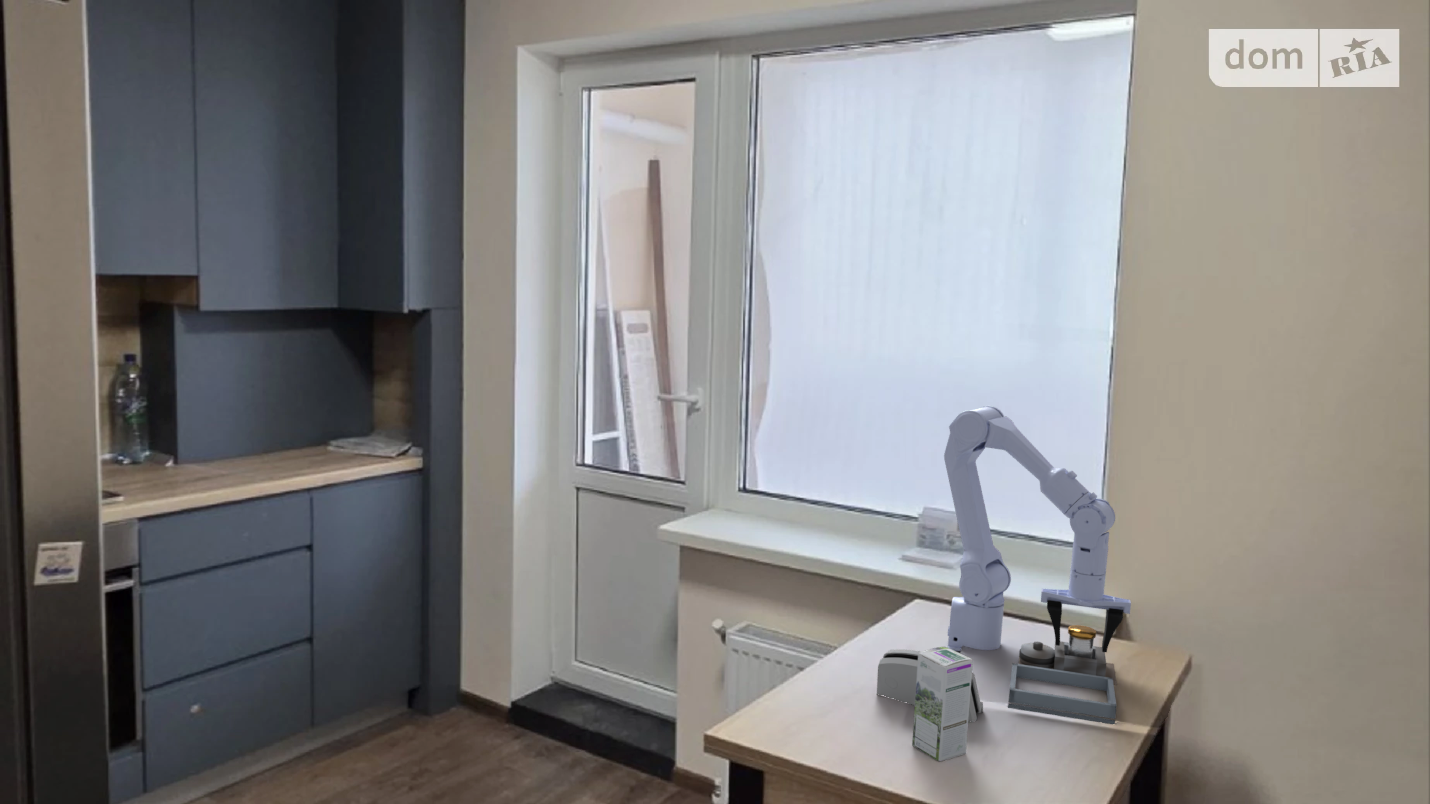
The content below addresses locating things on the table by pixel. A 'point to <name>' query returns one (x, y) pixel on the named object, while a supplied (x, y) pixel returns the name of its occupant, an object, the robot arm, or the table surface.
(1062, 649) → the board
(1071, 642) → the gold-rimmed cylinder
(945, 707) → the syrup box
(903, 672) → the grey toaster
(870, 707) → the table surface
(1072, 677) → the tray
